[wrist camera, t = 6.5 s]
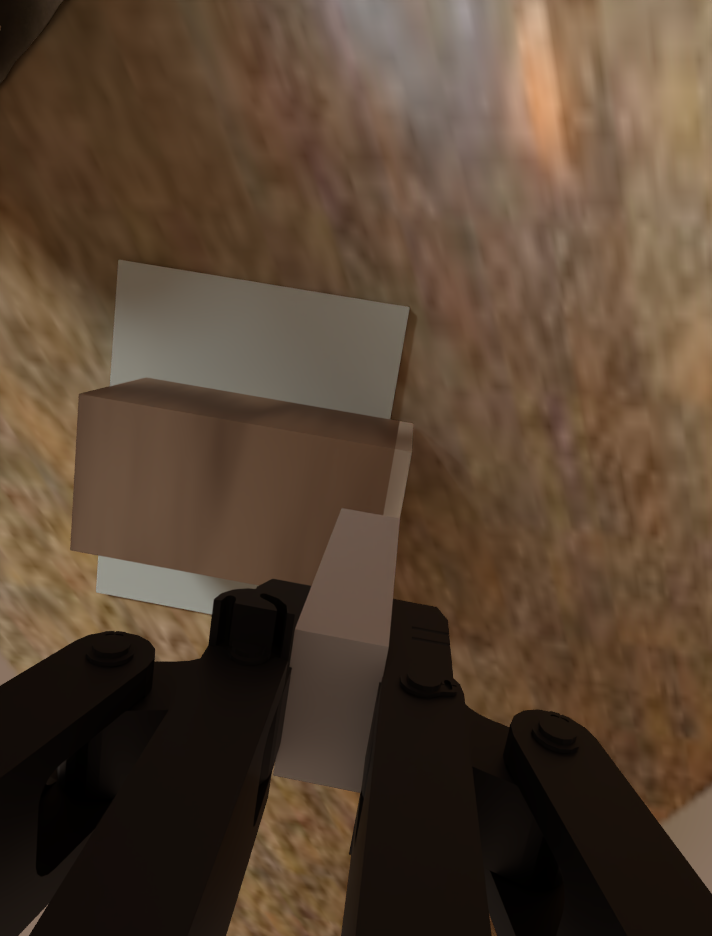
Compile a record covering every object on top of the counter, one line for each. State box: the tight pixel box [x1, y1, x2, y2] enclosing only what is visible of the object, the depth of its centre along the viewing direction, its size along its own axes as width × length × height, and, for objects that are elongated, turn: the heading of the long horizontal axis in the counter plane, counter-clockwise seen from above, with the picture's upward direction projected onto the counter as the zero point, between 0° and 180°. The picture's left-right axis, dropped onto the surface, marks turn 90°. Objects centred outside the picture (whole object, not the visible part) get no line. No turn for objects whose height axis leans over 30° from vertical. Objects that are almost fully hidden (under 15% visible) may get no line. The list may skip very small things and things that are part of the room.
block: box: [70, 377, 413, 586], centre depth 22 cm, size 5×5×10 cm
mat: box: [96, 260, 410, 614], centre depth 25 cm, size 10×13×1 cm
